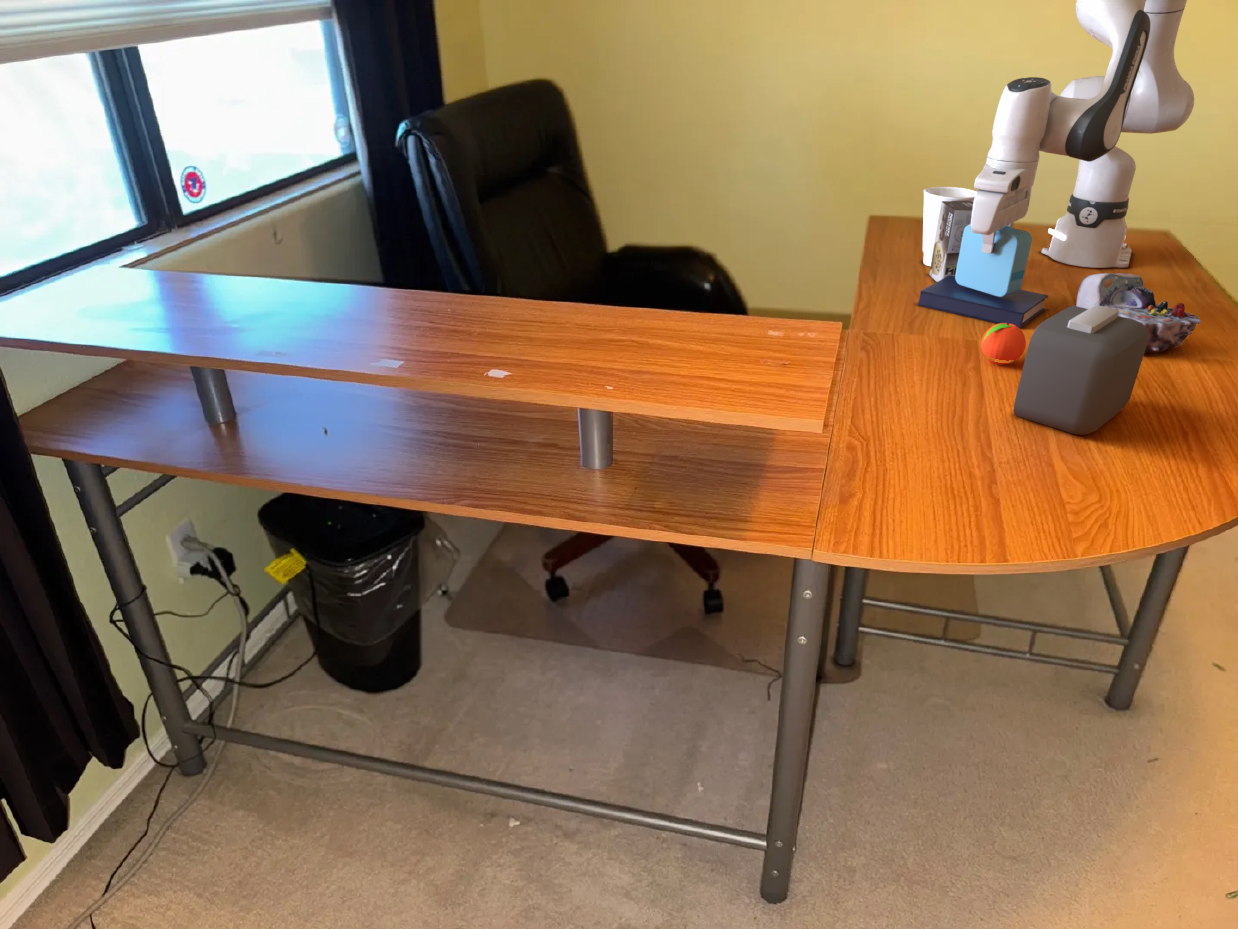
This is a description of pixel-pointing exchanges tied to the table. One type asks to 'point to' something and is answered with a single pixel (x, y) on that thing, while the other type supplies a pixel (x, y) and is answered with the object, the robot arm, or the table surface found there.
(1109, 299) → the cell model
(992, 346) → the clementine
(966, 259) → the data package
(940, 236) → the coffee box
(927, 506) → the table surface
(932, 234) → the cup
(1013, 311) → the book
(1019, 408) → the alarm clock
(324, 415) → the table surface
